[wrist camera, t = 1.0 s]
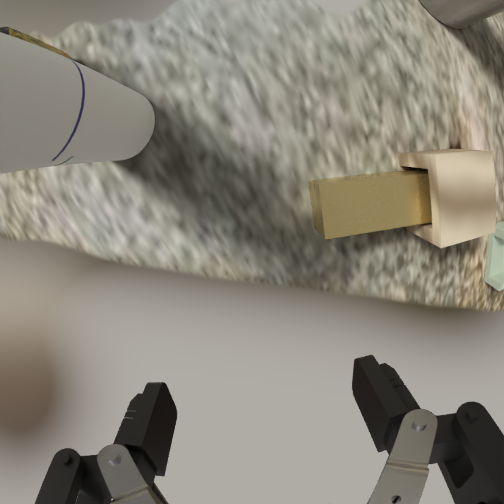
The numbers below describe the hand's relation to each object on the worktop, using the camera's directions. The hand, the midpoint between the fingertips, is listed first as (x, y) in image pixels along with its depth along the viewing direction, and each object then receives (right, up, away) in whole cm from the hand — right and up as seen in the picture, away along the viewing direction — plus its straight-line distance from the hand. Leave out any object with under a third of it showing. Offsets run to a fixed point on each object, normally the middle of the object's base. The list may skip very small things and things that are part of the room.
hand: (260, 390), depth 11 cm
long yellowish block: (+14, +11, +13) cm, 22 cm away
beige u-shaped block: (+19, +13, +15) cm, 27 cm away
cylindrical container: (-13, +18, +13) cm, 26 cm away
